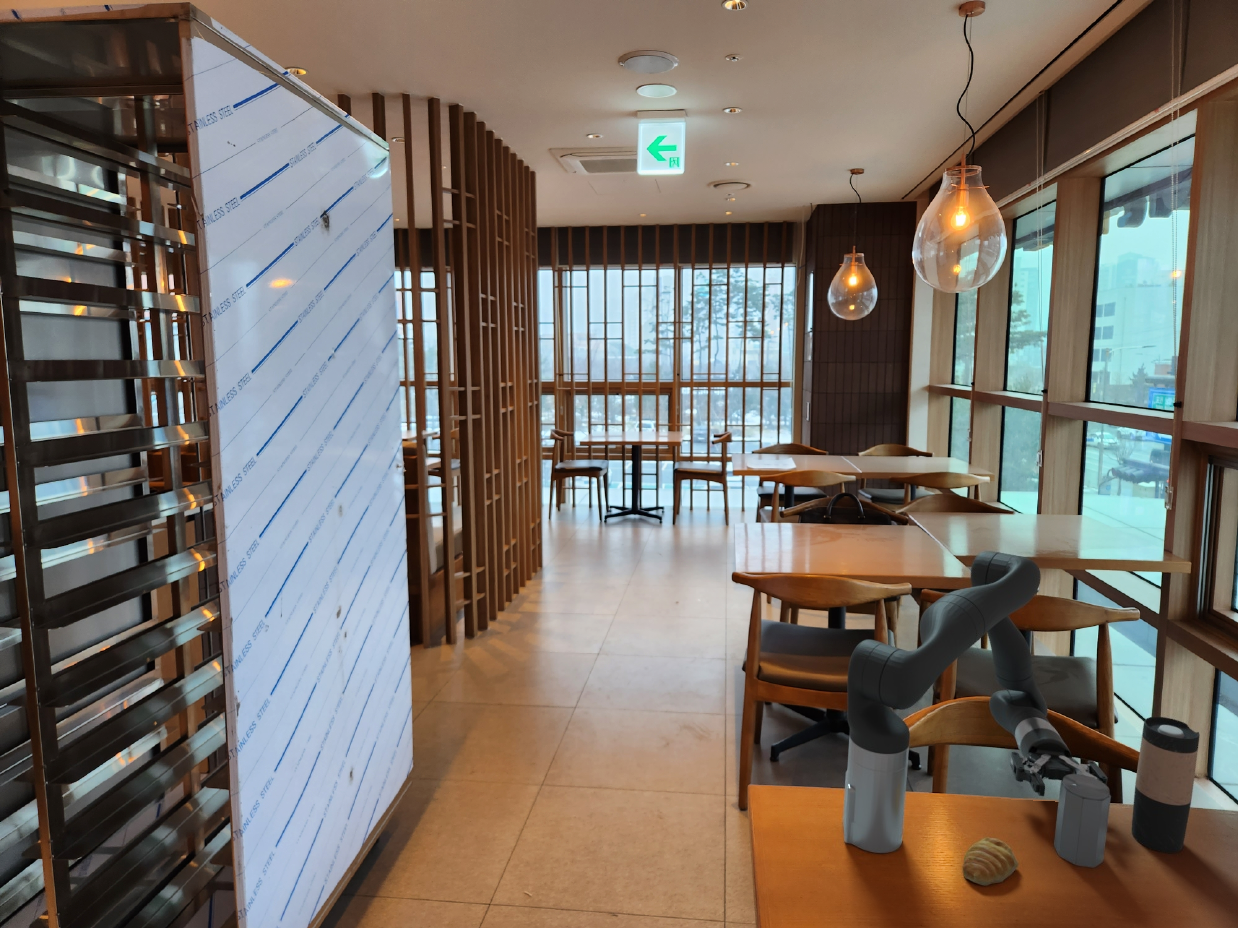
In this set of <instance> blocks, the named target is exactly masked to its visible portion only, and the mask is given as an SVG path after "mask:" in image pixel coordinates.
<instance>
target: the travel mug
mask: <svg viewBox="0 0 1238 928" xmlns="http://www.w3.org/2000/svg"><path fill="white" fill-rule="evenodd" d="M1199 743H1200V732H1199V731H1194V730H1193V729H1192V728H1190V727H1189V724H1187V723H1185V722H1184V721H1182V720H1181V721H1180V720H1178V719H1174V718H1172V717H1171V718H1169V717H1165V716H1151V717H1147V718H1145V720H1144V721H1143V726H1142V735H1141V741H1140V748H1139V757H1138V761H1137V762H1138V763H1137V771H1136V777H1135V785H1134V795H1133V796H1134V797H1133V807H1132V818H1131V819H1132V820H1131V835H1132V837H1133V838H1134V839H1135V840H1136V841H1137V842H1138V843H1140V844H1141V845H1143V846H1144V847H1147V848H1148V849H1151V850H1154V851H1156V852H1160V853H1165V854H1177V853H1180V852H1181V851H1182V850H1183V848H1184V842H1185V838H1186V832H1187V827H1188V821H1189V817H1190V809H1191V805H1192V798H1193V793H1194V791H1193V790H1194V783H1195V775H1196V767H1197V759H1198V750H1199Z"/></svg>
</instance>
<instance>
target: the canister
mask: <svg viewBox="0 0 1238 928" xmlns="http://www.w3.org/2000/svg"><path fill="white" fill-rule="evenodd" d="M1059 786H1060V787H1059V796H1058V804H1057V805H1058V806H1057V813H1056V815H1057V816H1056V823H1055V832H1054V839H1053V840H1054V842H1053V847H1054V849H1055V851H1056V853H1057V855H1058V856H1059V857H1060V858H1062V859H1064V860H1065V861H1067V862H1068V863H1070V864H1073V865H1075V866H1078V867H1079V866H1080V867H1087V868H1096V867H1098V866H1099V865H1101V864H1102V863H1104V857H1105V847H1106V840H1107V832H1108V825H1109V824H1108V823H1109V815H1110V806H1111V798H1112V795H1111V793H1110V788H1109V786H1107V784H1106V785H1105V784H1104V783H1102V782H1101V781H1099V780H1097V779H1095V778H1092V777H1089V776H1085V775H1080V774H1069V775H1066V776H1064V778H1063V781H1061V780H1060V785H1059Z"/></svg>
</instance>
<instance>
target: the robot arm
mask: <svg viewBox="0 0 1238 928" xmlns="http://www.w3.org/2000/svg"><path fill="white" fill-rule="evenodd" d="M1041 575H1042V574H1041V571H1040V568H1039V566H1038V564H1037V563H1036V562H1035V561H1034V560H1032V559H1031V558H1028V557H1025V556H1021V555H1016V554H1010V553H1004V552H1000V551H993V550H983V551H980V552H979V553H978V554H977V555H976V556H975V558H974V559H973V561H972V564H971V568H970V583H971V587H966V588H961V589H957V590H953V591H950V592H948V593H946V594H944V595H942V596H941V597H940V598H939V599H937V600H936V601H935V602H933V603H932V604H931V605H930V606H929V607H928V608H927V609H925V610H924V612H923V613H922V615H921V617H920V622H919V633H920V634H919V635H920V641H921V645H920V646H918V647H917V648H916V649H913V650H905V649H902V648H899V647H896V646H892V645H890V644H887V643H884V642H881V641H879V640H875V639H864V640H862V641H860V642H859V643H858V644H857V645H856V647H855V648H854V650H853V652H851V653H852V654H851V656H850V659H849V663H848V668H847V669H848V670H847V685H846V686H847V689H846V690H847V691H846V692H847V694H846V695H847V696H846V697H847V703H846V705H847V708H846V709H847V713H846V718H847V723H848V727H849V737H848V738H849V741H848V754H847V755H848V756H847V770H846V771H845V783H844V795H843V796H844V799H843V813H842V814H843V815H842V824H843V825H842V827H843V838H844V843H846V844H850V845H854V846H855V847H858V848H860V849H861V850H864V851H867V852H870V853H876V854H877V853H878V854H886V853H892V852H895V851H897V850H898V849H899V848H900V847H901V846H902V843H903V834H904V818H905V817H904V816H905V805H906V803H905V802H906V792H907V791H906V790H907V778H908V776H907V775H908V764H909V751H910V738H911V737H910V735H911V733H910V729H909V726H908V725H907V723H906V722H905V721H904V719H902V718H901V717H900V715H898V714H897V713H896V712H895V711H894V710H893V709H895V710H902V711H903V710H908V709H909V708H911V707H913V706H914V705H915V704H917V703H918V702H919V701H920V700H921V698H922V697H924V695H925V694H926V693H927V692H928V690H929V689H930V688H931V687H932V685H934V683H935V682H936V681H937V680H938V678H939V677H940V676H942V674H943V673H944V672H945V671H946V669H947V668H948V667H950V666H951V665H952V664H953V663H954V662H955V661H956V660H957V659H958V658H959V657H960V656H961V655H963V654H964V653H965V652H967V650H969V649H970V648H971V647H973V646H974V645H975V644H976V643H977V642H978V641H979V640H981V638H982V637H984V636H985V635H986V633H987V637H988V639H989V640H988V641H989V643H990V649H991V655H992V662H993V670H994V677H995V680H996V682H997V684H998V685H999V686H1000V687H1001V688H1003V690H998V691H995V692H994V693H992V694H991V696H990V697H989V703H988V705H989V711H990V713H991V715H992V717H993V718H994V720H995V722H996V723H997V724H998V725H999V726H1001V728H1003V729H1004V730H1006V731H1007V732H1008V733H1010V734H1012V735H1013V737H1014V739H1015V741H1016V744H1017V747H1018V750H1019V752H1021V754H1022V756H1021V755H1020V753H1019V752H1017V751H1011V754H1010V755H1011V756H1010V768H1011V770H1012V774H1013V777H1014V779H1015V780H1016V781H1017V782H1020V783H1022V782H1024V781H1025V782H1027V784H1028V785H1030V787H1031V789H1032V791H1033V792H1034V793H1037V795H1038V796H1039V797H1045V791H1046V784H1045V780H1047V779H1048V780H1052V781H1053V780H1054V781H1057V780H1058V781H1060V782H1061V781H1063V778H1064V776H1066V775H1069V774H1080V775H1085V776H1089V777H1092V778H1095V779H1097V780H1099V781H1101V782H1102V783H1104V784H1105V785H1106V786H1107V782H1108V777H1107V775H1106V774H1105V772H1103V770H1102V769H1101V768H1100V766H1098V764H1097V763H1096V762H1095V761H1093V760H1088V761H1087V764H1085V763H1084V764H1083V763H1079V762H1078V761H1077V760H1075V759H1074V758H1073V756H1072V753H1071V751H1070V749H1069V748H1068V746H1067V744H1066V743H1065V742H1064V740H1063V738H1062V737H1061V736H1060V734H1059V733H1058V730H1056V729H1055V727H1054V726H1053V725H1052V724H1051V723H1050V721H1049V719H1048V718H1047V716H1048V712H1049V711H1048V705H1047V701H1046V699H1045V698H1044V696H1043V694H1042V693H1041V691H1040V688H1039V686H1038V684H1037V682H1036V679H1035V675H1034V666H1033V659H1032V658H1033V657H1032V653H1031V648H1030V646H1029V644H1028V642H1027V640H1026V639H1025V637H1024V636H1023V634H1022V632H1021V631H1020V629H1019V628H1018V627H1017V626H1016V625H1015V624H1014V622H1013V620H1012V619H1011V618H1010V616H1009V615H1011V614H1012V613H1014V612H1016V611H1018V610H1019V609H1021V608H1023V607H1024V606H1025V605H1027V604H1028V603H1029V602H1031V600H1032V599H1033V598H1034V597H1035V595H1036V593H1037V592H1038V590H1039V587H1040V584H1041V580H1042V579H1041ZM1025 766H1026V767H1027V768H1028V769H1025Z"/></svg>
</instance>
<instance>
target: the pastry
mask: <svg viewBox="0 0 1238 928" xmlns="http://www.w3.org/2000/svg"><path fill="white" fill-rule="evenodd" d="M1018 867H1019V862H1018V859H1016V856H1015V853H1014V852H1013V850H1012V848H1011V846H1009V845H1008V844H1007V843H1006V842H1004V841H1002V840H1000V839H999V838H996V837H995V838H990V837H989V836H988V837H985V838H981V839H980V840H979V841H977V842H975V843H973V844H972V845H971V846H970V847H969V848H968V849H967V850H966V852H965V854H964V859H963V864H962V874H963V877H964V878H965V879H967V880H969V881H971V882H972V883H976V884H977V885H981V886H984V887H985V886H986V887H987V886H989V885H990V884H996V883H1003V882H1004V880H1006V879H1007V878H1008V877H1010V876H1011V875H1012V874H1013V873H1014V871H1016V870H1017V868H1018Z"/></svg>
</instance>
